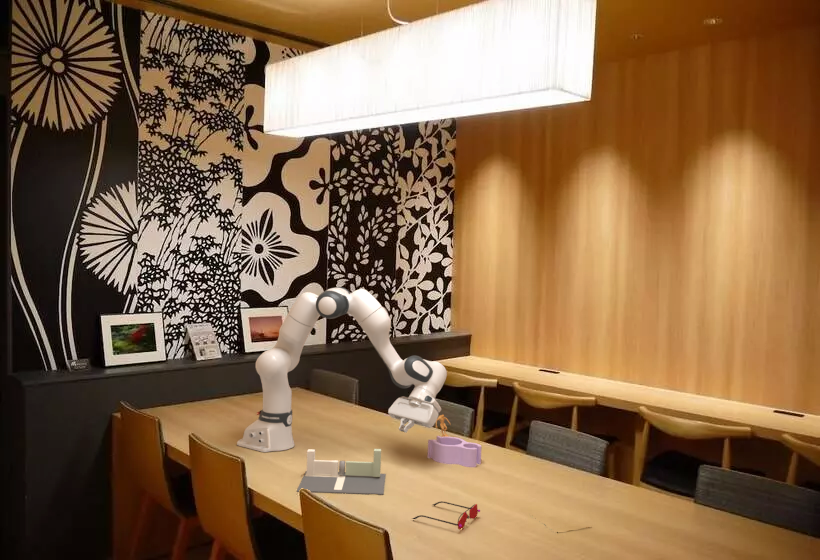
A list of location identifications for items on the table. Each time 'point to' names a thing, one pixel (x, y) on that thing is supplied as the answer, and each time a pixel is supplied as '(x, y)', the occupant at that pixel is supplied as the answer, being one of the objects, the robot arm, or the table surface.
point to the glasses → (461, 522)
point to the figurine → (442, 425)
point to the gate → (362, 466)
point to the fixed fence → (320, 465)
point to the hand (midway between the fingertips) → (402, 430)
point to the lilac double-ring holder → (454, 451)
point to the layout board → (343, 484)
